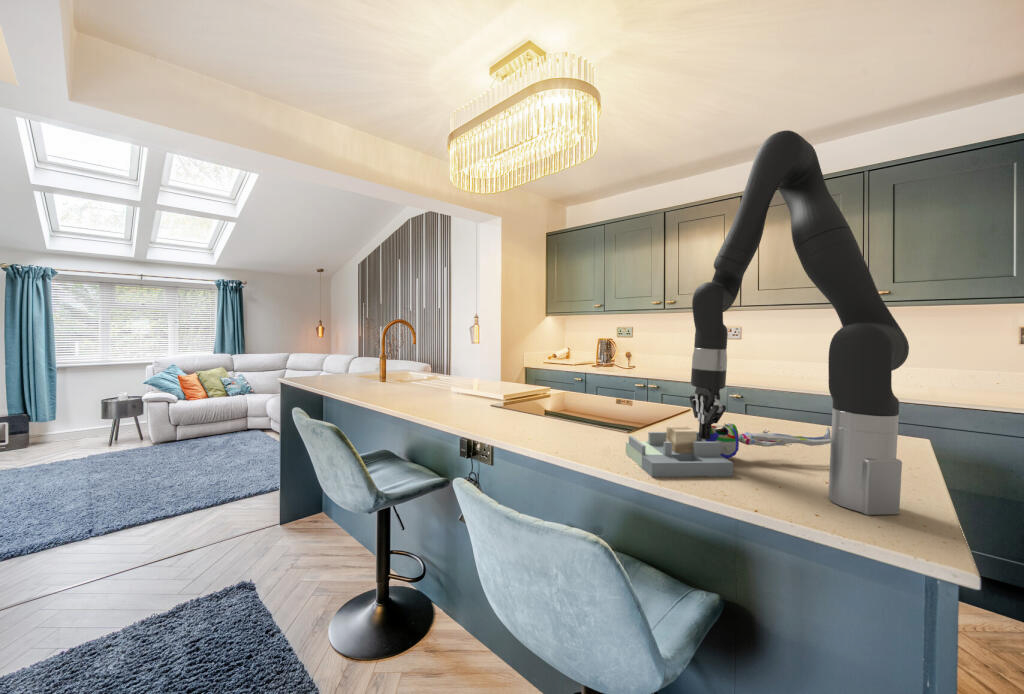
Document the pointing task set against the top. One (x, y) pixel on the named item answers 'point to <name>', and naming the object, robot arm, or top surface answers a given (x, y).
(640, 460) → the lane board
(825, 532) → the top surface
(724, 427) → the toy
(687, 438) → the block
